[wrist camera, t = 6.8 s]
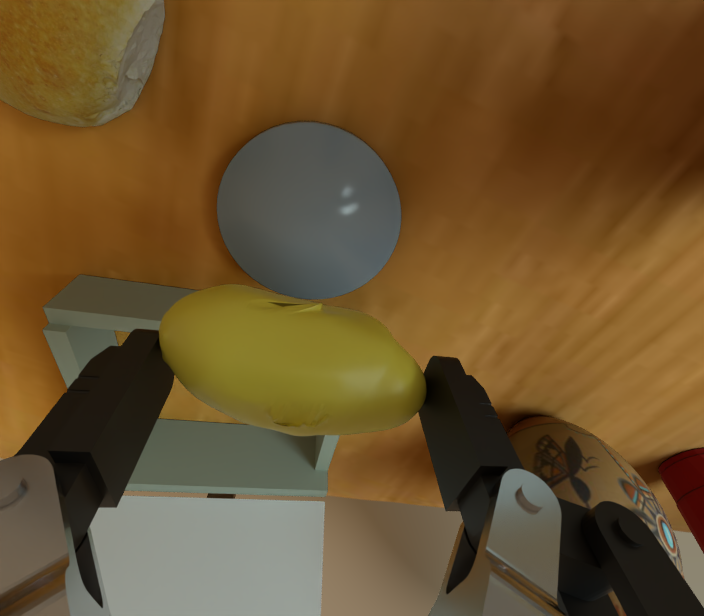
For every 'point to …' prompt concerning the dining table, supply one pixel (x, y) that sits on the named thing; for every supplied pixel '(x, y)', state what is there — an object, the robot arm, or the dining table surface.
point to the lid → (210, 556)
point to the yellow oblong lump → (290, 362)
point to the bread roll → (77, 56)
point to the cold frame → (177, 435)
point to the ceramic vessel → (589, 475)
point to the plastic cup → (687, 488)
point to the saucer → (309, 210)
